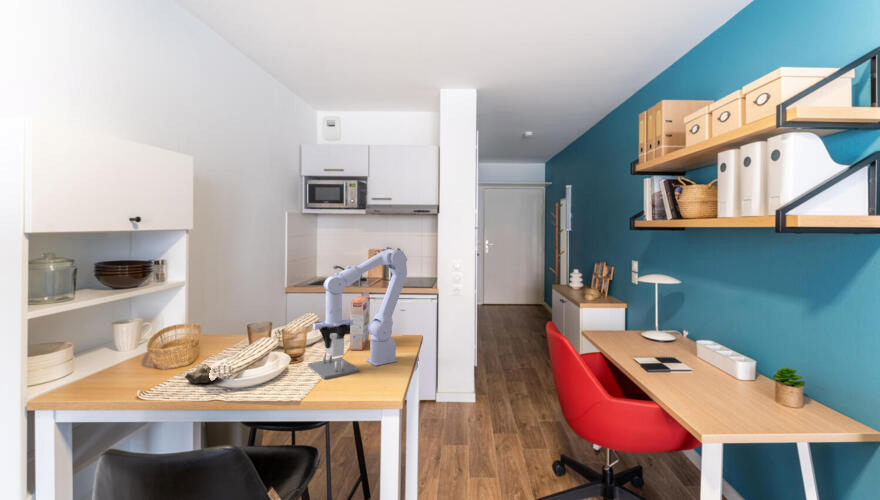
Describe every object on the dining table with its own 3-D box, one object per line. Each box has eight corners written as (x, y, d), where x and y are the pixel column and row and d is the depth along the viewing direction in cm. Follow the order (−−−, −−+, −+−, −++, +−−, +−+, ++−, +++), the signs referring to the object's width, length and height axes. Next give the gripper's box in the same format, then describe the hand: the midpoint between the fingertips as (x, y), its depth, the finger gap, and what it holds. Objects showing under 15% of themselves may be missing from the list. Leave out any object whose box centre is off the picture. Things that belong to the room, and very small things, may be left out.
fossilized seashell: (178, 379, 130) (210, 385, 130) (188, 359, 133) (219, 364, 134) (188, 384, 137) (218, 389, 137) (197, 364, 140) (226, 369, 140)
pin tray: (340, 359, 160) (341, 348, 159) (359, 372, 147) (359, 359, 147) (308, 366, 152) (308, 354, 151) (324, 379, 139) (324, 366, 139)
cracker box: (363, 350, 172) (364, 301, 170) (349, 350, 172) (349, 301, 170) (369, 341, 186) (370, 295, 184) (356, 341, 186) (356, 295, 184)
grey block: (334, 348, 153) (335, 332, 152) (343, 354, 146) (344, 338, 146) (324, 350, 150) (324, 334, 150) (333, 356, 144) (333, 340, 144)
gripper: (318, 313, 140) (318, 352, 141) (356, 309, 149) (356, 346, 150) (310, 310, 146) (310, 347, 147) (348, 306, 155) (348, 341, 156)
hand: (333, 346), depth 149 cm, fingers closed on grey block, 4 cm apart
